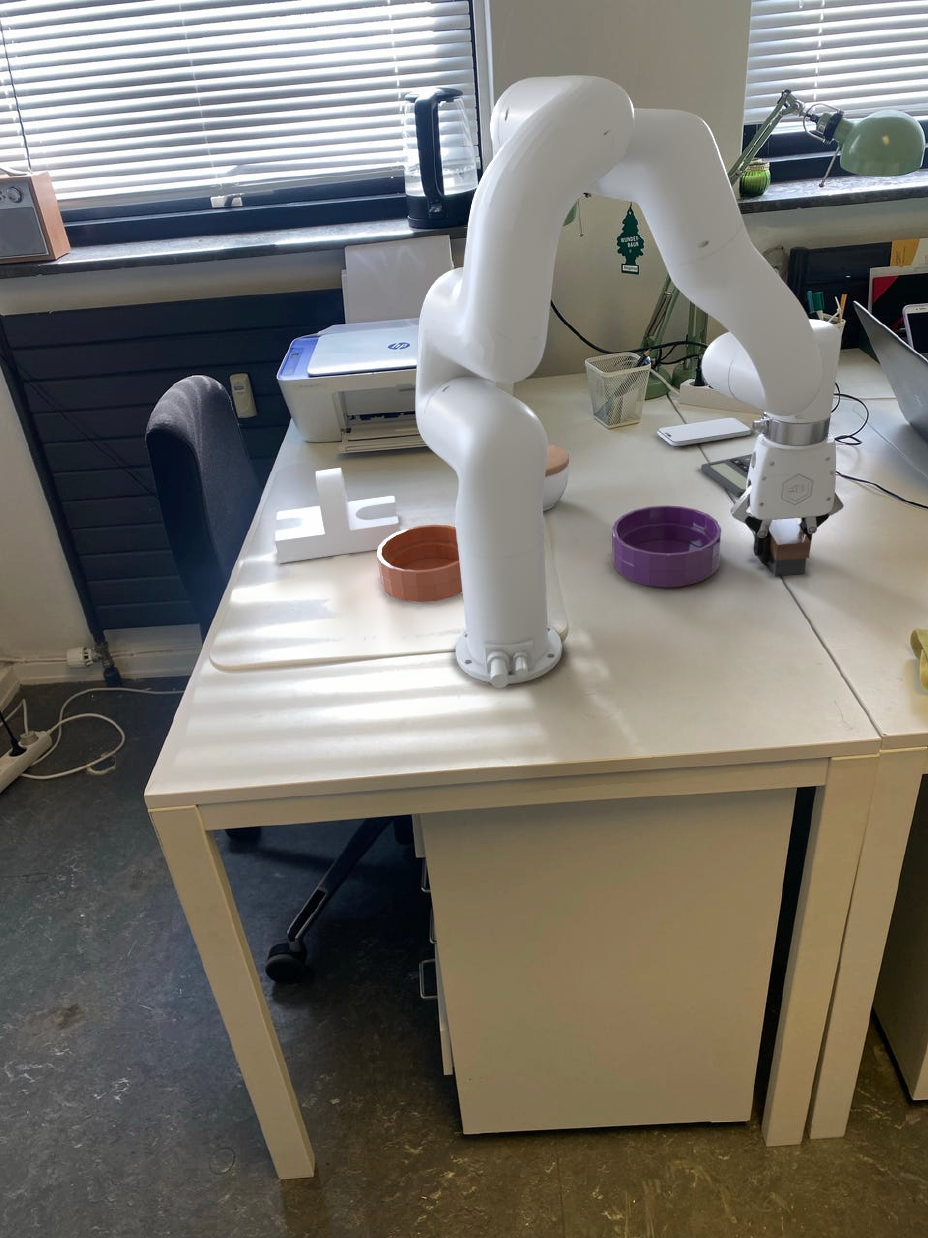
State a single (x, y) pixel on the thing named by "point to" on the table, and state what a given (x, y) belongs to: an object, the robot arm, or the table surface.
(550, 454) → the trinket box
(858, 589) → the table surface
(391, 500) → the white slotted stand
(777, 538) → the scrub brush
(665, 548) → the plum bowl
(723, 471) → the calculator
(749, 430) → the smartphone
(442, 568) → the terracotta bowl
